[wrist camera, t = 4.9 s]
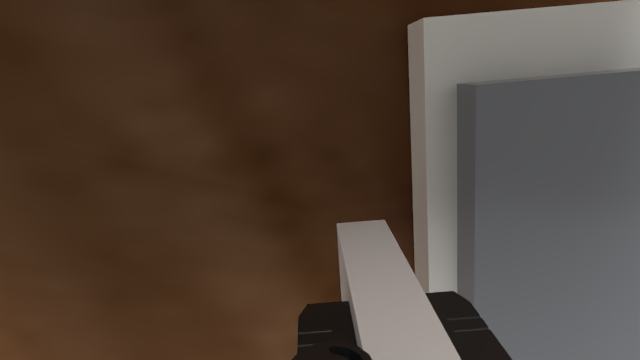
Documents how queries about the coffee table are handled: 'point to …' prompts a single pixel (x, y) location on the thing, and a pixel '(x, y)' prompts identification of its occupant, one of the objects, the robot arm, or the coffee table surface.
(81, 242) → the coffee table surface
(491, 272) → the coaster
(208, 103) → the coffee table surface
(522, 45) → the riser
